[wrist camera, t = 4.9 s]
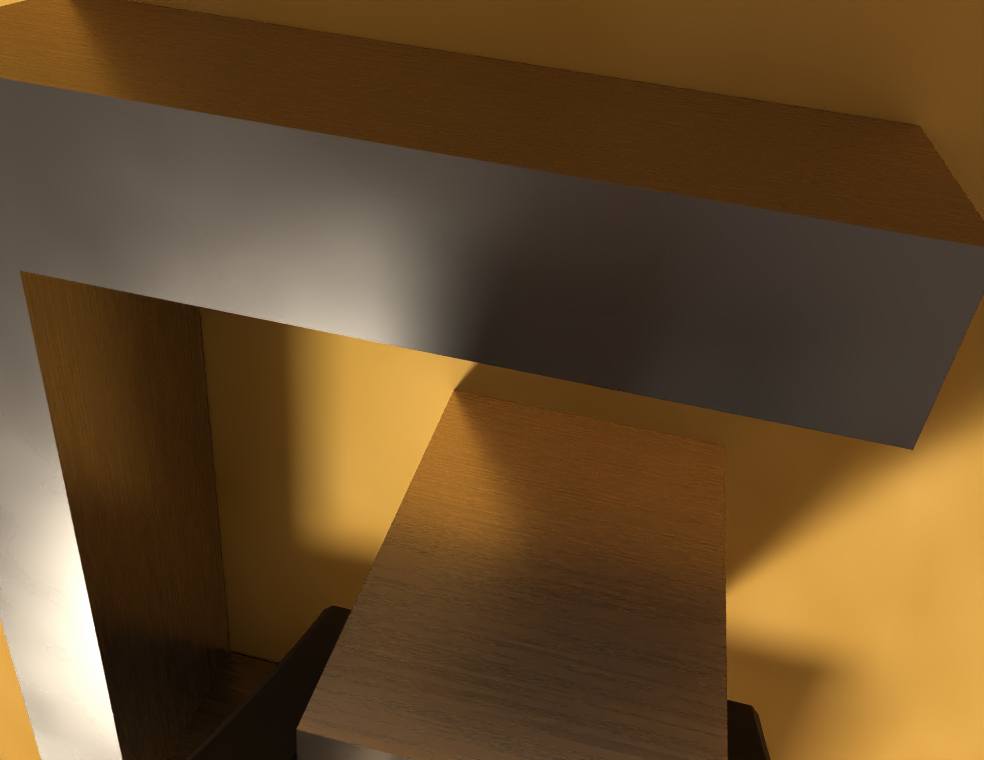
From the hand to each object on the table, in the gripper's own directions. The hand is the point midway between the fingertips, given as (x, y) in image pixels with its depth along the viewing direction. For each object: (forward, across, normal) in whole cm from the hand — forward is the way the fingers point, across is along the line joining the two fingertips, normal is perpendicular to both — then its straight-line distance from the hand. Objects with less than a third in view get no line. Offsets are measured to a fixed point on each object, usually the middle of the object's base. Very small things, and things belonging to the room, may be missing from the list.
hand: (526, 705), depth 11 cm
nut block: (+3, 0, 0) cm, 4 cm away
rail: (+3, +3, +4) cm, 6 cm away
